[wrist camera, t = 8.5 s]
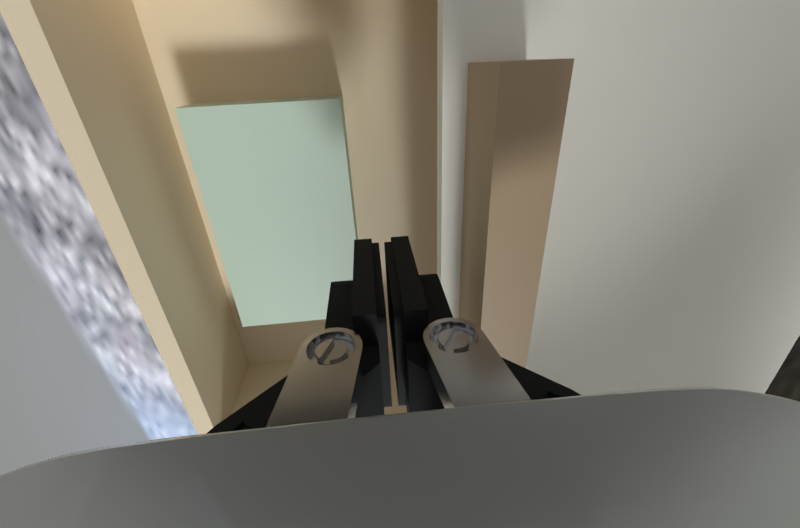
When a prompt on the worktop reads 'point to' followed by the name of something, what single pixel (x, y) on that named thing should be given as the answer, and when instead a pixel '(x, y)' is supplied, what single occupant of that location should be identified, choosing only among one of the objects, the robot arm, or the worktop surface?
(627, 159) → the lid
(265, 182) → the box
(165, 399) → the worktop surface
